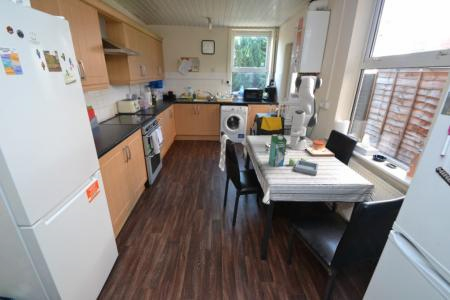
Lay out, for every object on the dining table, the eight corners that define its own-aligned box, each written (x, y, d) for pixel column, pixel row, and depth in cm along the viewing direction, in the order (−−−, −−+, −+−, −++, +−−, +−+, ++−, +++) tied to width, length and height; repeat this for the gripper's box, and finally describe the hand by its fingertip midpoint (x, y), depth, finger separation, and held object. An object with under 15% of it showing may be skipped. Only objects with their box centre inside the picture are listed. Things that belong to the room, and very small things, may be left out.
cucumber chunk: (289, 163, 175) (290, 158, 174) (294, 164, 174) (295, 159, 172) (288, 165, 172) (289, 160, 170) (293, 166, 170) (294, 161, 168)
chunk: (300, 161, 180) (301, 157, 178) (305, 162, 178) (306, 158, 176) (299, 163, 176) (300, 159, 175) (305, 164, 174) (306, 160, 173)
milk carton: (273, 167, 168) (277, 137, 159) (268, 162, 176) (271, 134, 167) (283, 166, 170) (287, 137, 162) (277, 161, 179) (281, 133, 170)
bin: (297, 163, 176) (298, 159, 175) (317, 167, 169) (318, 163, 168) (294, 170, 163) (295, 166, 161) (316, 175, 156) (317, 171, 155)
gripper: (294, 128, 172) (292, 144, 177) (290, 133, 155) (287, 151, 160) (302, 129, 170) (300, 145, 174) (299, 135, 152) (296, 152, 157)
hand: (294, 148), depth 167 cm, fingers open, 8 cm apart
